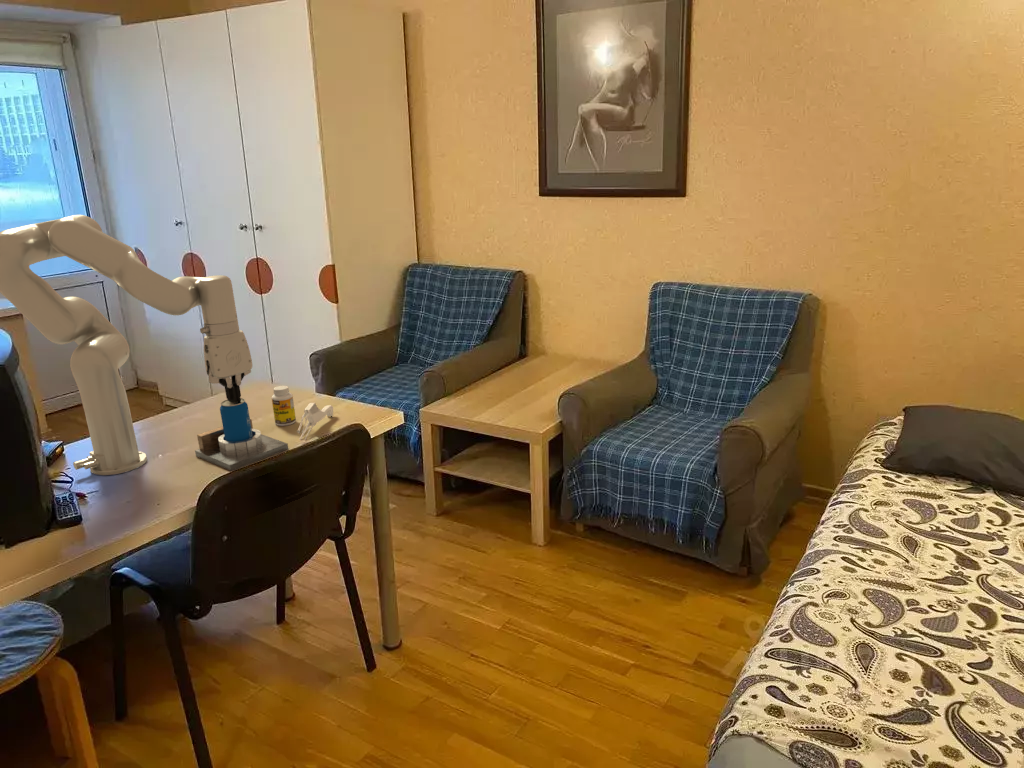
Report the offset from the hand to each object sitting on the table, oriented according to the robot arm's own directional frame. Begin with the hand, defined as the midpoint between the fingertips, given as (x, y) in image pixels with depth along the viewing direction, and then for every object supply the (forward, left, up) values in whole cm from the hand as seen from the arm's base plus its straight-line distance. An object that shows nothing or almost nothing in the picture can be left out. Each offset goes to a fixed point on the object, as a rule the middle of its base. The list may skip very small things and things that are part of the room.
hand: (234, 401), depth 189 cm
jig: (0, 0, -14) cm, 14 cm away
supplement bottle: (+19, +9, -14) cm, 25 cm away
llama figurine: (+21, -2, -14) cm, 26 cm away
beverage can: (0, 0, -12) cm, 12 cm away
